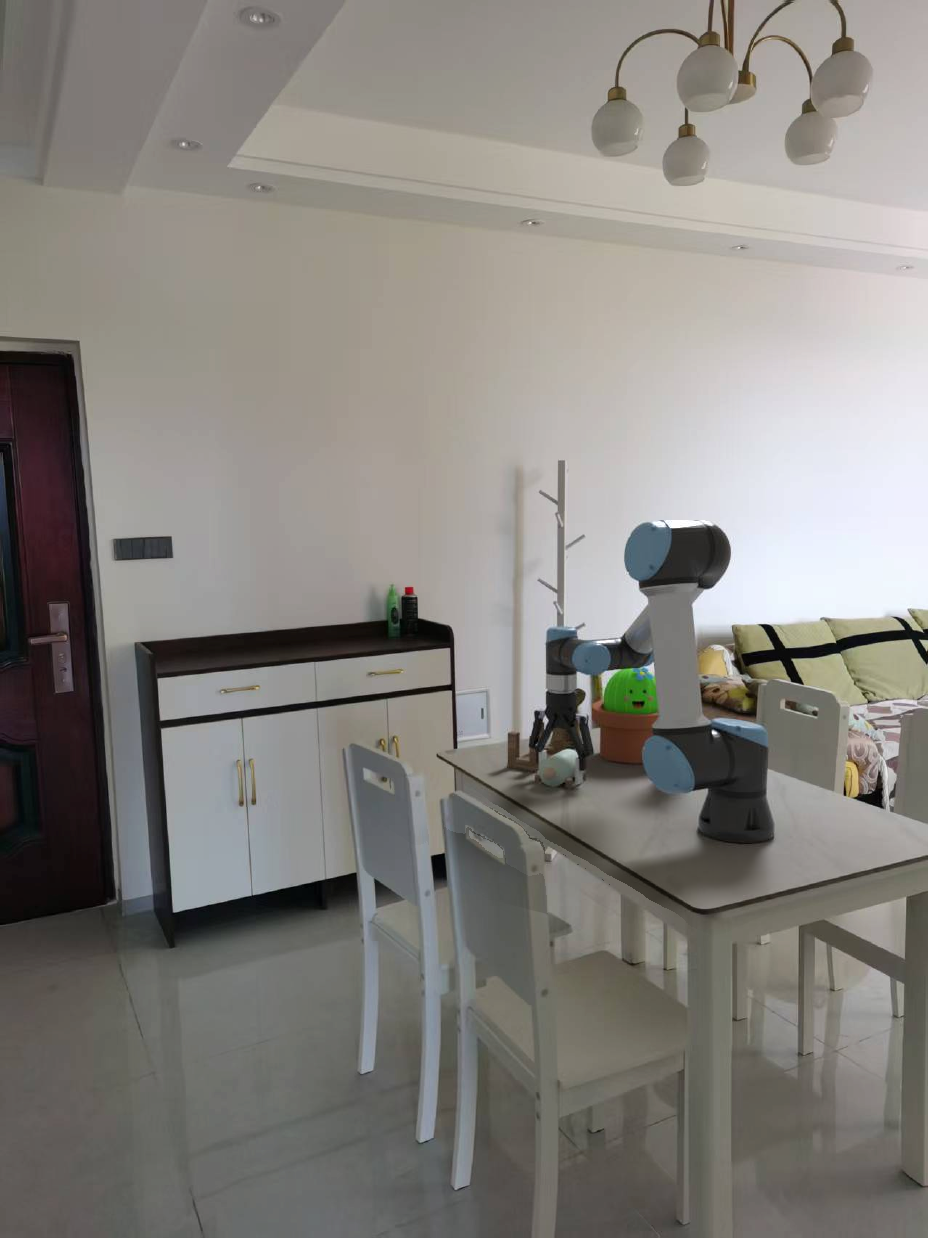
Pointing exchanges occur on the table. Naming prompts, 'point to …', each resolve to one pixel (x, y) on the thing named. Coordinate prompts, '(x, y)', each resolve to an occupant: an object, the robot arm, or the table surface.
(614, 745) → the potted cactus
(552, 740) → the wooden mug
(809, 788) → the table surface
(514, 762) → the roll holder
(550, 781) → the paper roll
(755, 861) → the table surface
